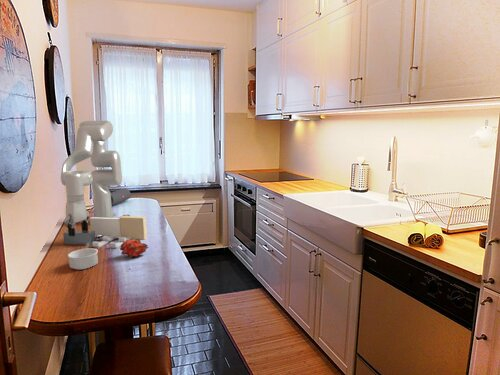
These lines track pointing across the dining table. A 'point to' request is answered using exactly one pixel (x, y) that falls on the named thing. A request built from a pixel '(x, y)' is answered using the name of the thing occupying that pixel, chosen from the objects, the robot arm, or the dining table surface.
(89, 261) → the saucepan
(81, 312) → the dining table surface
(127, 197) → the bluetooth speaker
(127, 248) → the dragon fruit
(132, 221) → the white rack
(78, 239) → the grey metal block
